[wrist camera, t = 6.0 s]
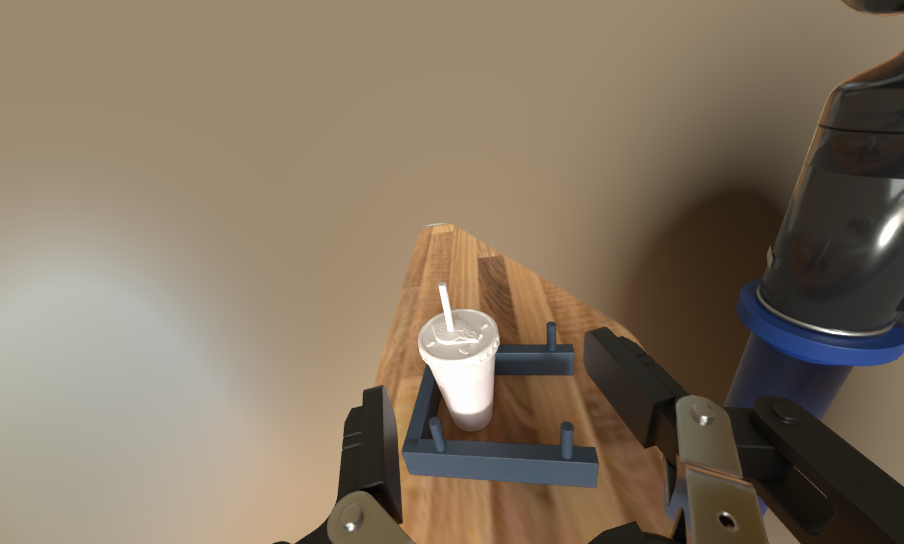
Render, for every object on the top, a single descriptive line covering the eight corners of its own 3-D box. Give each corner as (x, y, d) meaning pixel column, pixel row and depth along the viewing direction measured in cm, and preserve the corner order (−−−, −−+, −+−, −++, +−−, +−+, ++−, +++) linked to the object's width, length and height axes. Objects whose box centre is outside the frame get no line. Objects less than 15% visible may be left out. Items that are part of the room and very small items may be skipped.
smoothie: (459, 377, 35) (435, 258, 28) (518, 398, 32) (508, 269, 25) (424, 429, 30) (386, 301, 23) (489, 459, 27) (466, 322, 20)
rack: (571, 366, 34) (573, 319, 31) (596, 488, 24) (601, 436, 21) (436, 366, 37) (426, 322, 34) (409, 474, 27) (391, 427, 24)
